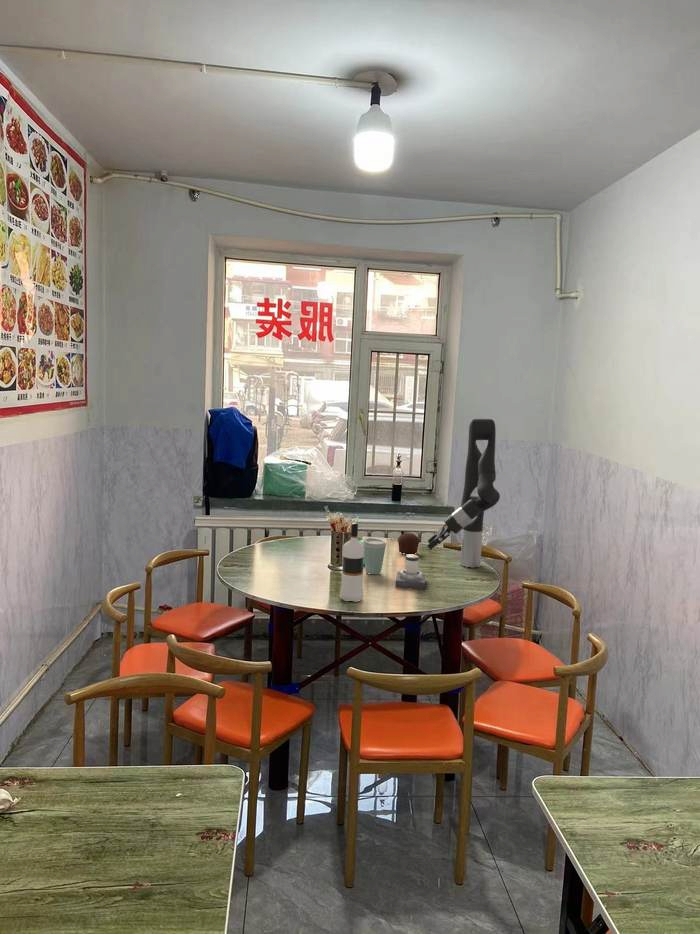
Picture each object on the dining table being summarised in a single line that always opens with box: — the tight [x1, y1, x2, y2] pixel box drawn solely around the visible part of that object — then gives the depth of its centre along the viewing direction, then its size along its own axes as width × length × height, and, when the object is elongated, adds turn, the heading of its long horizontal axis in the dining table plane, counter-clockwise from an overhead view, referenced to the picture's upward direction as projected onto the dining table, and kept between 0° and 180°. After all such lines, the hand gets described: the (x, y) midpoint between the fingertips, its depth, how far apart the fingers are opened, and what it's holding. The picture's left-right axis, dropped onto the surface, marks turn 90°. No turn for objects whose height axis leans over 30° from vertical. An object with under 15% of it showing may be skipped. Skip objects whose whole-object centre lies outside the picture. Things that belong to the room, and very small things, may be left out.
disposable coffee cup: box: [362, 537, 387, 575], centre depth 301 cm, size 11×11×15 cm
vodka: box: [339, 522, 365, 601], centre depth 262 cm, size 9×9×30 cm
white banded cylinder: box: [404, 554, 420, 575], centre depth 287 cm, size 6×6×9 cm
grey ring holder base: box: [394, 569, 426, 591], centre depth 288 cm, size 14×12×5 cm
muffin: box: [396, 532, 421, 554], centre depth 341 cm, size 12×11×10 cm
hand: (428, 545), depth 286 cm, fingers open, 8 cm apart
